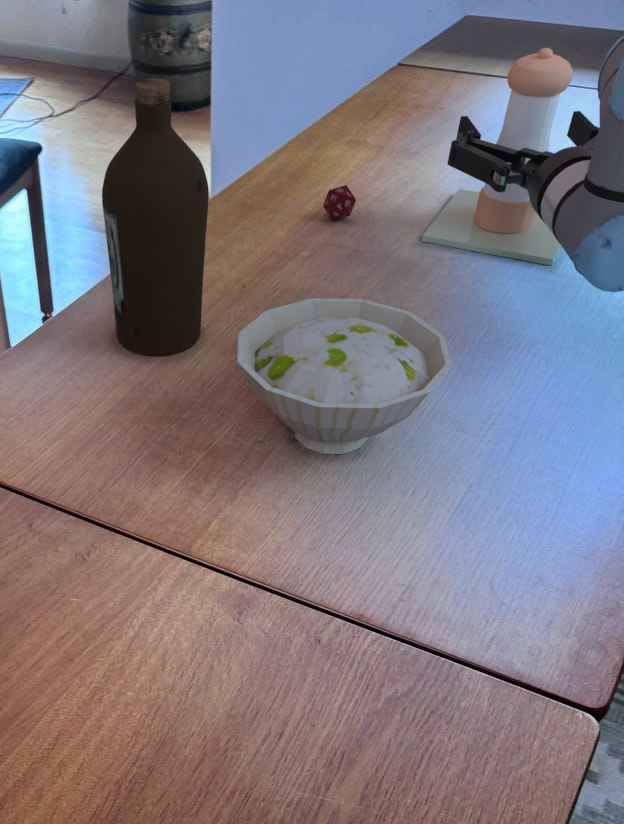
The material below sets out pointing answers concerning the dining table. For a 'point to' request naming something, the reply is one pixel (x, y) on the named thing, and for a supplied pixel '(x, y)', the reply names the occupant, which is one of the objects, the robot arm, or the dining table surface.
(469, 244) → the tile
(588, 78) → the dining table surface
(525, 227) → the salt shaker
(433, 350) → the bowl
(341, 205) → the dice
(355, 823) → the dining table surface
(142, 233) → the olive oil
